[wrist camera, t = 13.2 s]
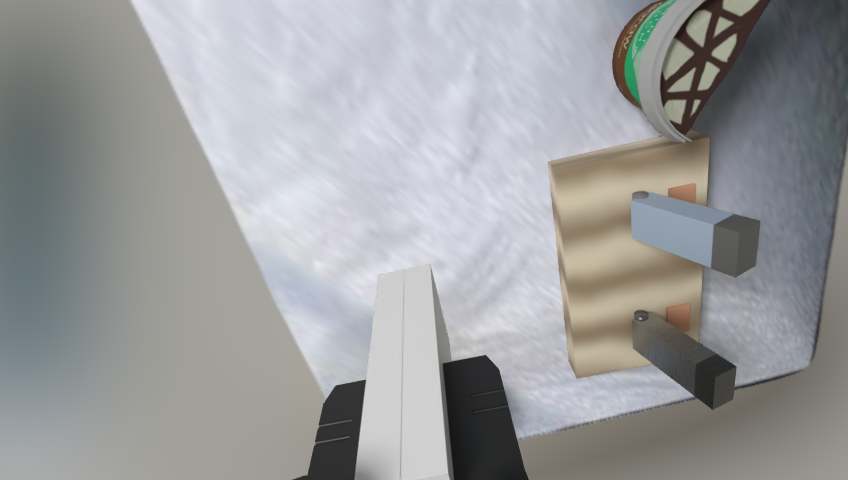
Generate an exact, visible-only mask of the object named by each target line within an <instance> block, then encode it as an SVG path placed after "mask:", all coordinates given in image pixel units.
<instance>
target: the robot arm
mask: <svg viewBox="0 0 848 480" xmlns="http://www.w3.org/2000/svg"><path fill="white" fill-rule="evenodd" d="M315 443H316V445H315V446H314V449H313V453H312V458H311V462H310V467H309V471H308V476H302V477H300V478H296V479H293V480H529V479H528V477H527V474H526V472H525V469H524V465H523V461H522V457H521V453H520V449H519V446H518V442H517V438H516V434H515V430H514V426H513V422H512V418H511V414H510V410H509V407H508V402H507V399H506V395H505V391H504V387H503V383H502V379H501V375H500V371H499V369H498V368H497V367H496V365H495V364H494V363H493V362H492V361H491V360H490V359H489V358H488V357H487V356H486V355H483V356H478V357H473V358H468V359H463V360H457V361H452V360H451V352H450V344H449V338H448V334H447V330H446V326H445V322H444V318H443V314H442V310H441V306H440V302H439V298H438V294H437V290H436V286H435V282H434V278H433V274H432V270H431V265H430V264H426V265H421V266H417V267H412V268H407V269H402V270H397V271H393V272H388V273H383V274H379V275H378V283H377V292H376V300H375V309H374V317H373V326H372V334H371V343H370V351H369V360H368V368H367V377H366V380H362V381H357V382H351V383H346V384H341V385H336V386H335V387H334V389H333V390H332V392H331V393H330V395H329V396H328V398H327V399H326V401H325V403H324V404H323V408H322V413H321V417H320V422H319V428H318V431H317V435H316V440H315Z"/></svg>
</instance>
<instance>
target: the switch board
mask: <svg viewBox="0 0 848 480" xmlns="http://www.w3.org/2000/svg"><path fill="white" fill-rule="evenodd" d="M685 136H686V137H687V138H689V139H690V140H692V141H688V140H686V141H685V143H682V142H673V141H671V140H669V139H667V138H666V137H664V136H661V137H656V138H652V139H647V140H643V141H638V142H634V143H629V144H625V145H620V146H616V147H611V148H607V149H602V150H598V151H593V152H589V153H584V154H580V155H575V156H571V157H566V158H562V159H557V160H553V161H549V162H548V169H549V178H550V188H551V197H552V206H553V216H554V225H555V235H556V244H557V254H558V263H559V273H560V282H561V291H562V301H563V310H564V320H565V329H566V339H567V348H568V357H569V362H570V365H571V367H572V369H573V371H574V373H575V375H576V377H577V378H582V377H587V376H593V375H598V374H603V373H609V372H614V371H619V370H624V369H630V368H635V367H640V366H646V365H651V364H652V363H651V362H650V361H648V360H647V359H646V358H644V357H643V356H642V355H641V354H639V353H638V352H637V351H635V350H634V349H633V337H632V320H633V319H634V312H635V311H637V310H644V311H646V312H652V313H654V314H655V315H657V316H658V317H660V318H661V319H663V320H664V321H666V322H668V323H669V324H671V325H672V326H674V327H675V328H677V329H679V330H680V331H682V332H683V333H685V334H686V335H688V336H689V337H691V338H693V339H694V340H696V341H697V342H699V327H700V309H701V291H702V274H703V265H701V264H699V263H696V262H694V261H691V260H688V259H686V258H683V257H681V256H678V255H675V254H673V253H670V252H667V251H665V250H662V249H660V248H657V247H654V246H652V245H649V244H646V243H644V242H641V241H639V240H636V239H633V238H632V229H631V200H632V193H634V192H637V191H646V192H653V193H656V194H660V195H664V196H668V197H671V198H675V199H679V200H683V201H687V202H690V203H694V204H698V205H702V206H705V207H706V202H707V184H708V166H709V148H710V137H709V136H707V135H704V134H701V133H699V132H696V131H694V130H689V131H688V132H687V134H686V135H685Z"/></svg>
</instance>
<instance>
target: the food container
mask: <svg viewBox="0 0 848 480" xmlns="http://www.w3.org/2000/svg"><path fill="white" fill-rule="evenodd" d="M769 2H770V0H660V1H657V2H654V3H651V4H650V5H648V6H647V7H645V8H644V9H643V10H641V11H640V12H638V13H637V14H635V15H634V16H633V18H632V19H631V20H630V21H629V22H628V24H627V25H626V26H625V27H624V29H623V30H622V32H621V34H620V36H619V38H618V40H617V42H616V45H615V49H614V53H613V60H612V67H613V75H614V79H615V82H616V85H617V87H618V88H619V90H620V92H621V93H622V94H623V95H624V97H625V98H626V99H628V100H629V101H630V102H631V103H633V104H634V105H636V106H637V107H639V108H640V109H641V110H643V111H644V113H645V115H646V117H647V119H648V121H649V122H650V123H651V124H652V126H653V127H654V128H655V129H656V130H657V131H658V132H659V133H660V134H662V135H663V136H664V137H666V138H667V139H669V140H671V141H673V142H682V143H685V141H686V140H688V141H692V140H690V139H689V138H687V137H686V136H685V135H686V134H687V132H688V131H689V129H690V128H691V127H692V125H693V122H694V121H695V119H696V117H697V115H698V114H699V112H700V111H701V109H702V108H703V106H704V105H705V103H706V102H707V100H708V99H709V97H710V96H711V94H712V93H713V92H714V90H715V89H716V88H717V87H718V85H719V84H720V83H721V81H722V80H723V79H724V77H725V76H726V74H727V73H728V71H729V70H730V69H731V67H732V66H733V64H734V62H735V60H736V59H737V57H738V55H739V53H740V51H741V49H742V47H743V45H744V44H745V42H746V40H747V38H748V36H749V34H750V32H751V31H752V29H753V27H754V26H755V24H756V22H757V21H758V19H759V18H760V16H761V14H762V13H763V11H764V10H765V8H766V6H767V5H768V3H769Z"/></svg>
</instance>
